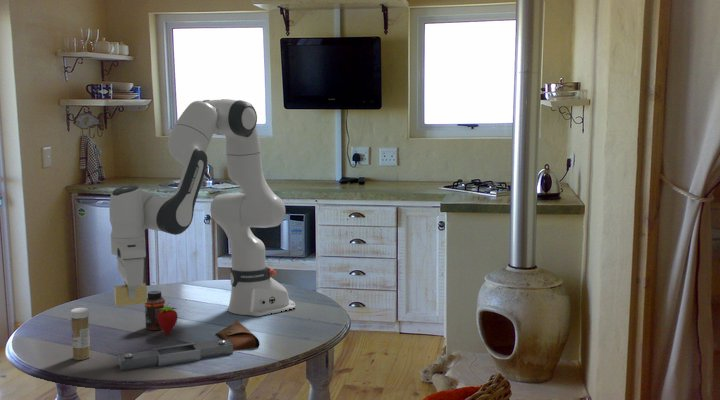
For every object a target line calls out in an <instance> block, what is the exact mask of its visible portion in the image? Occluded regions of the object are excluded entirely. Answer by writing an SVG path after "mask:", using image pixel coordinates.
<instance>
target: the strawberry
mask: <svg viewBox="0 0 720 400" xmlns="http://www.w3.org/2000/svg"><path fill="white" fill-rule="evenodd" d="M169 304H170V302H168V303H167V305H165V306H164V308H160V309H159V310H161V311H159V313H158V314H157V320H158V323H159V325H160V327H161V328H162V329H161V330H162V331H163V332H164V334H165V335H170V333H171V332H172V330H173V329H174V327H175V326H176V324H177V322H178V313H177V311H176V310H177V309H178V308H177V307H173V306H172V307H171V306H168V305H169Z"/></svg>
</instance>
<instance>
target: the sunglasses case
mask: <svg viewBox="0 0 720 400" xmlns="http://www.w3.org/2000/svg"><path fill="white" fill-rule="evenodd" d="M214 336H216V337H218V338H219V339H220V340H227V339H228V340H229V341H230V342H231V343H232V344H233V352H235V351H243V350H249V349H250V350H251V349H256V348H260V343H261V342H260V340H259V338H258V337H257V336H256V335H254V333H253V332H251V331H250V330H249V329H248V328H247V327H246V326H245V325H243V324H242V323H241V322H239V320H237V319H235V321H234V322H233V323H231V324H229V325H228V326H226V327H224V328H222V329H221V330H219V331H218V332H216V333H215V334H214Z"/></svg>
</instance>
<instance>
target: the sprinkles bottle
mask: <svg viewBox="0 0 720 400" xmlns="http://www.w3.org/2000/svg"><path fill="white" fill-rule="evenodd" d="M69 315H70V318H71V339H72V343H71V345H72V359H73V360H74V361H75V360H76V361H83V360H86V359H89V358H90V357H91V353H90V352H91V351H90V350H91V349H90V344H91V343H90V340H91V339H90V326H89V325H90V324H89V316H90V311H89V309H88V308H87V307H76V308H73V309H71V310H70V313H69Z"/></svg>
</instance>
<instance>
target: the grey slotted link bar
mask: <svg viewBox="0 0 720 400" xmlns="http://www.w3.org/2000/svg"><path fill="white" fill-rule="evenodd" d="M231 354H234V351H233V344H232V343H231V342H230V341H229V340H228V339H227V340H222V339H220V340H213V341H209V342H201V343H195V342H190V343H182V344H175V345H170V346H169V345H168V346H163V347H162V346H161V347H160V346H159V347H155V348H154V347H153V349H151V350H144V351H137V352H129V353H128V352H127V353H123V354H118V355H117V356H118V359H117V360H118V365H119V368H120V371H127V370H133V369H140V368H146V367H147V368H148V367H153V366H158V367H162V366H169V365H176V364H181V363H188V362H194V361H200V360H201V359H207V358H210V357H211V358H213V357H219V356H225V355H231Z"/></svg>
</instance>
